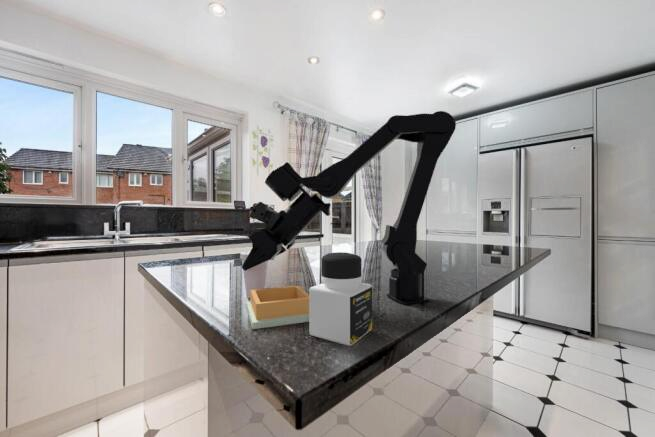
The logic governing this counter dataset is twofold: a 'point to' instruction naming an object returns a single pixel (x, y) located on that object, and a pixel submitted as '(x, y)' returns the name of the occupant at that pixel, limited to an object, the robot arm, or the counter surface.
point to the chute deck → (278, 306)
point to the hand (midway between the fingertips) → (248, 266)
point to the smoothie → (254, 275)
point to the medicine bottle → (340, 301)
